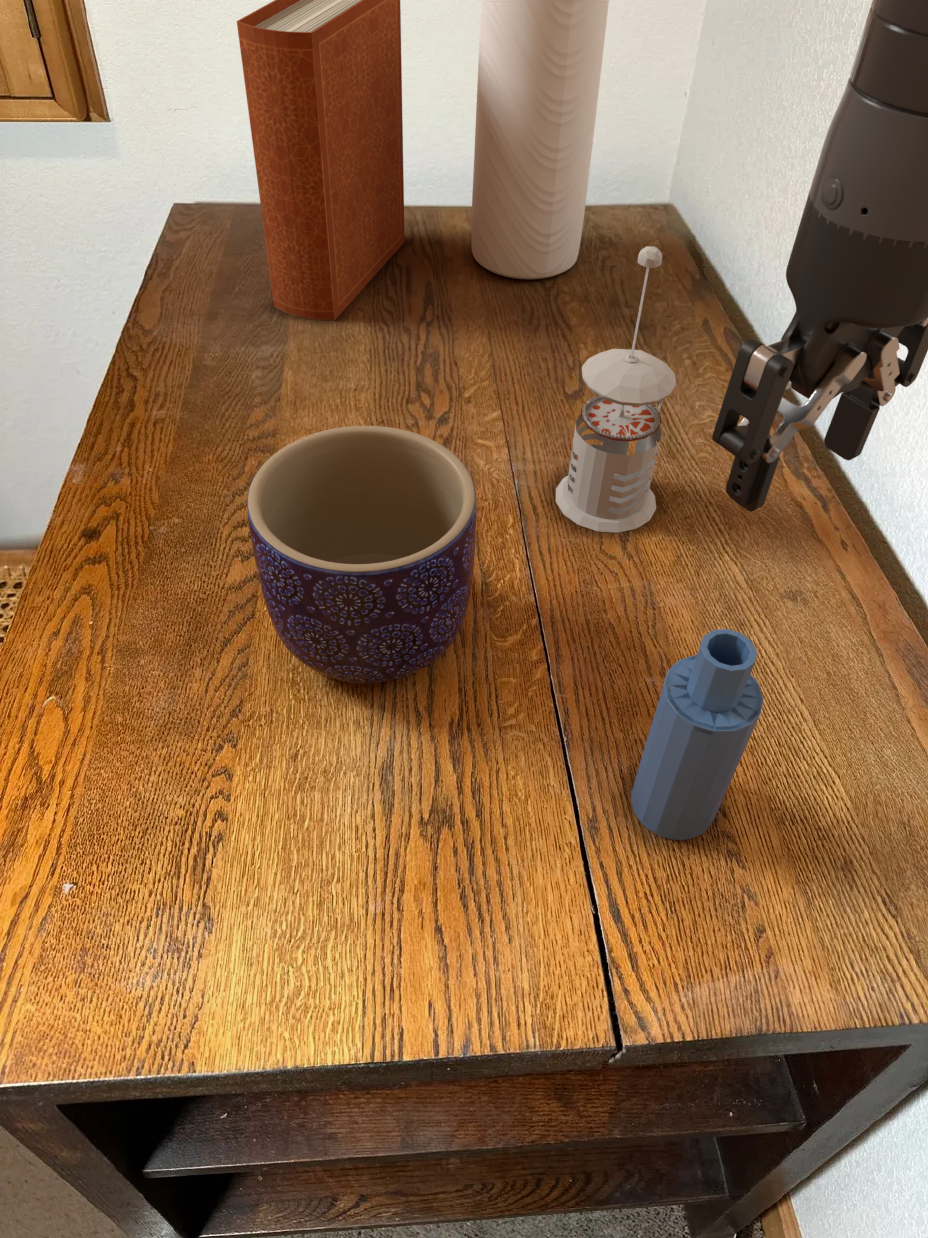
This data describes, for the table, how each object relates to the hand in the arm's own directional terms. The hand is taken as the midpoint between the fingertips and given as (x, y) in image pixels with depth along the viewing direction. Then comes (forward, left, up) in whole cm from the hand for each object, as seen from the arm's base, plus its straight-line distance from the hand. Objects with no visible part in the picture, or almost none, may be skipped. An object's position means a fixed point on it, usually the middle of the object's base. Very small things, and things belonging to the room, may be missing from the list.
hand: (793, 476), depth 55 cm
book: (+57, -53, -24) cm, 81 cm away
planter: (+28, +1, -24) cm, 37 cm away
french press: (+14, -24, -24) cm, 36 cm away
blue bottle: (+1, +8, -24) cm, 25 cm away
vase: (+37, -67, -24) cm, 80 cm away
